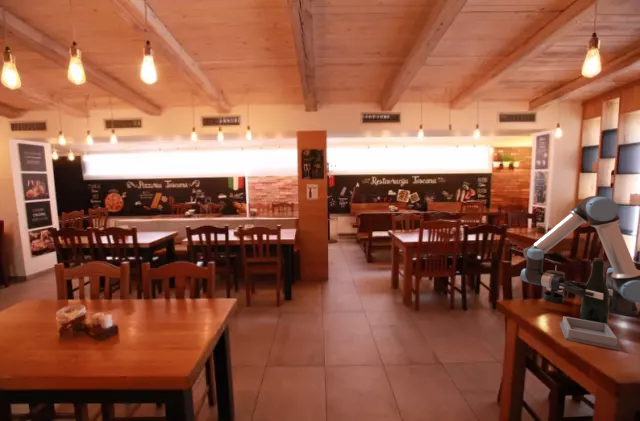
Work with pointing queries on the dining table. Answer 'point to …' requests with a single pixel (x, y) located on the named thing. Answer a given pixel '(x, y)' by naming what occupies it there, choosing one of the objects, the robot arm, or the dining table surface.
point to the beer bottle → (593, 306)
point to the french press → (553, 293)
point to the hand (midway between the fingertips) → (607, 294)
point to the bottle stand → (589, 332)
